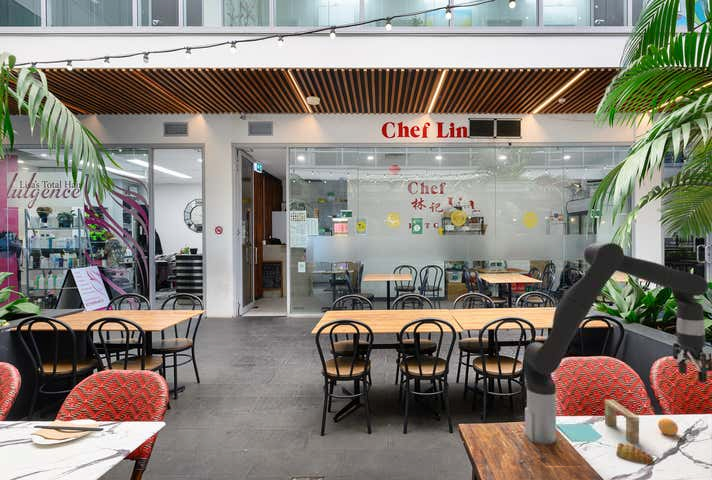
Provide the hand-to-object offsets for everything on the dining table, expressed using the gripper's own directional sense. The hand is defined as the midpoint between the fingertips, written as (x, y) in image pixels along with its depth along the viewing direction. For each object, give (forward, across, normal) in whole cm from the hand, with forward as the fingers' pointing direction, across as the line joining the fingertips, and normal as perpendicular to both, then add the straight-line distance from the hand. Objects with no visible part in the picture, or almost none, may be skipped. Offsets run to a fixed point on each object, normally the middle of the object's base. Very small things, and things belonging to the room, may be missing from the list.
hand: (692, 377), depth 137 cm
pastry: (+20, +15, -30) cm, 39 cm away
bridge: (+20, -1, -24) cm, 31 cm away
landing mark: (+20, -1, -38) cm, 43 cm away
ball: (+18, -1, -8) cm, 20 cm away
